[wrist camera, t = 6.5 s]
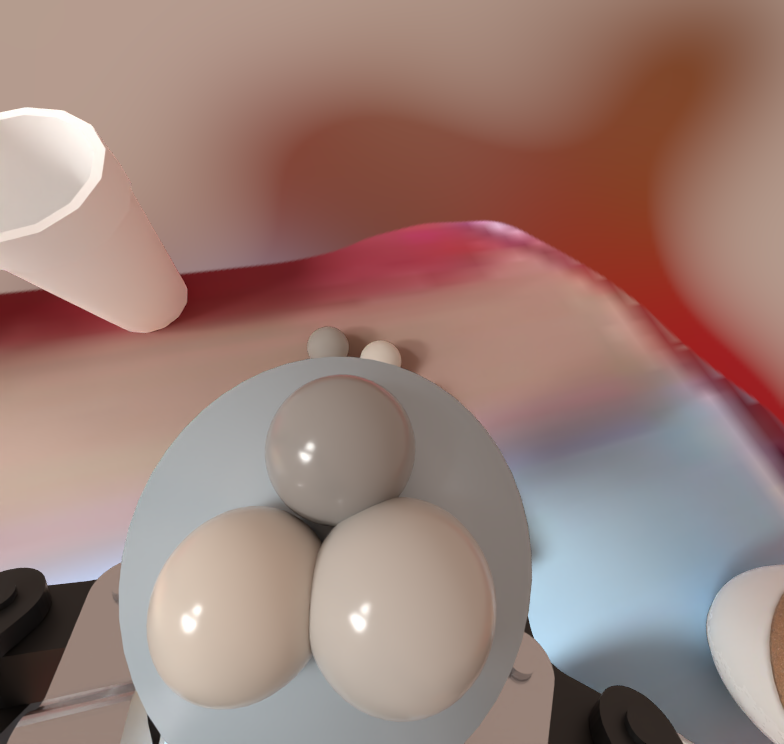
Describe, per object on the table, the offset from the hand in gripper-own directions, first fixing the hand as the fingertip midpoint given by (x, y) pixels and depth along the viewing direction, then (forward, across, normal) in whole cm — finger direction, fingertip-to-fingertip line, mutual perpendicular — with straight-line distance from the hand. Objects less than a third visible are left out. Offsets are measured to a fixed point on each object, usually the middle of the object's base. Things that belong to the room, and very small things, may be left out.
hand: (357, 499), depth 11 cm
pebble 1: (+20, +5, +4) cm, 21 cm away
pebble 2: (+20, +1, +4) cm, 20 cm away
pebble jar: (+3, 0, +4) cm, 5 cm away
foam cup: (+21, +22, +3) cm, 31 cm away
